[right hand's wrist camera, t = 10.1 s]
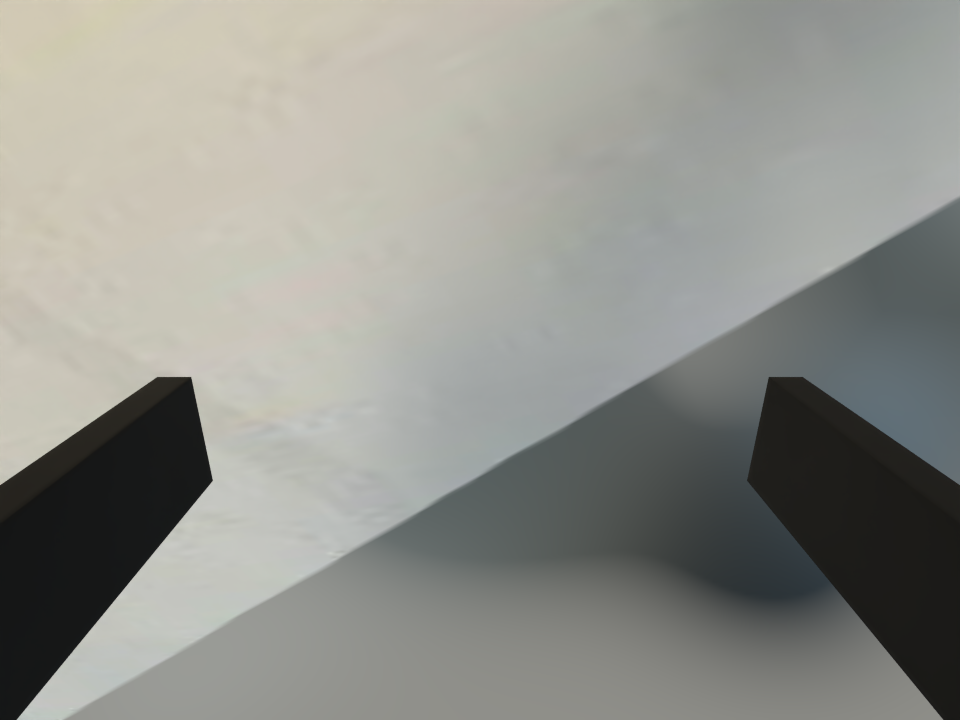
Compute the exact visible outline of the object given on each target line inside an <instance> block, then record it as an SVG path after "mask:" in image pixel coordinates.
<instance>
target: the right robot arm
mask: <svg viewBox="0 0 960 720" xmlns="http://www.w3.org/2000/svg"><path fill="white" fill-rule="evenodd" d="M212 481H213V479H212V475H211V470H210V465H209V460H208V455H207V451H206V446H205V441H204V436H203V432H202V427H201V422H200V417H199V412H198V408H197V403H196V398H195V393H194V389H193V384H192V379H191V377H157V378H155V379H154V380H153V381H151V382H150V383H148V384H147V385H145V386H144V387H142V388H141V389H139V390H138V391H137V392H135V393H134V394H132V395H131V396H129V397H128V398H126V399H125V400H123V401H122V402H121V403H119V404H118V405H116V406H115V407H113V408H112V409H110V410H109V411H107V412H106V413H105V414H103V415H102V416H100V417H99V418H97V419H96V420H94V421H93V422H91V423H90V424H89V425H87V426H86V427H84V428H83V429H81V430H80V431H78V432H77V433H75V434H74V435H73V436H71V437H70V438H68V439H67V440H65V441H64V442H62V443H61V444H59V445H58V446H57V447H55V448H54V449H52V450H51V451H49V452H48V453H46V454H45V455H43V456H42V457H41V458H39V459H38V460H36V461H35V462H33V463H32V464H30V465H29V466H27V467H26V468H25V469H23V470H22V471H20V472H19V473H17V474H16V475H14V476H13V477H11V478H10V479H9V480H7V481H6V482H4V483H3V484H1V485H0V720H17V719H18V717H19V716H20V715H21V714H22V712H23V711H24V710H25V709H26V708H27V706H28V705H29V704H30V703H31V701H32V700H33V699H34V698H35V697H36V695H37V694H38V693H39V692H40V691H41V689H42V688H43V687H44V686H45V684H46V683H47V682H48V681H49V680H50V678H51V677H52V676H53V675H54V673H55V672H56V671H57V670H58V669H59V667H60V666H61V665H62V664H63V663H64V661H65V660H66V659H67V658H68V656H69V655H70V654H71V653H72V652H73V650H74V649H75V648H76V647H77V645H78V644H79V643H80V642H81V641H82V639H83V638H84V637H85V636H86V635H87V633H88V632H89V631H90V630H91V628H92V627H93V626H94V625H95V624H96V622H97V621H98V620H99V619H100V617H101V616H102V615H103V614H104V613H105V611H106V610H107V609H108V608H109V606H110V605H111V604H112V603H113V602H114V600H115V599H116V598H117V597H118V596H119V594H120V593H121V592H122V591H123V589H124V588H125V587H126V586H127V585H128V583H129V582H130V581H131V580H132V578H133V577H134V576H135V575H136V574H137V572H138V571H139V570H140V569H141V568H142V566H143V565H144V564H145V563H146V561H147V560H148V559H149V558H150V557H151V555H152V554H153V553H154V552H155V550H156V549H157V548H158V547H159V546H160V544H161V543H162V542H163V541H164V540H165V538H166V537H167V536H168V535H169V533H170V532H171V531H172V530H173V529H174V527H175V526H176V525H177V524H178V522H179V521H180V520H181V519H182V518H183V516H184V515H185V514H186V513H187V511H188V510H189V509H190V508H191V507H192V505H193V504H194V503H195V502H196V501H197V499H198V498H199V497H200V496H201V494H202V493H203V492H204V491H205V490H206V488H207V487H208V486H209V485H210V483H211V482H212ZM747 481H748V482H749V483H750V485H751V486H752V487H753V488H754V489H755V491H756V492H757V493H758V494H759V496H760V497H761V498H762V499H763V501H764V502H765V503H766V504H767V505H768V507H769V508H770V509H771V510H772V511H773V513H774V514H775V515H776V516H777V518H778V519H779V520H780V521H781V522H782V524H783V525H784V526H785V527H786V528H787V530H788V531H789V532H790V533H791V535H792V536H793V537H794V538H795V540H796V541H797V542H798V543H799V544H800V546H801V547H802V548H803V549H804V550H805V552H806V553H807V554H808V555H809V557H810V558H811V559H812V560H813V561H814V563H815V564H816V565H817V566H818V568H819V569H820V570H821V571H822V572H823V574H824V575H825V576H826V577H827V578H828V580H829V581H830V582H831V583H832V585H833V586H834V587H835V588H836V589H837V591H838V592H839V593H840V594H841V595H842V597H843V598H844V599H845V600H846V602H847V603H848V604H849V605H850V606H851V608H852V609H853V610H854V611H855V613H856V614H857V615H858V616H859V617H860V619H861V620H862V621H863V622H864V624H865V625H866V626H867V627H868V628H869V630H870V631H871V632H872V633H873V634H874V636H875V637H876V638H877V639H878V641H879V642H880V643H881V644H882V645H883V647H884V648H885V649H886V650H887V652H888V653H889V654H890V655H891V656H892V658H893V659H894V660H895V661H896V663H897V664H898V665H899V666H900V667H901V669H902V670H903V671H904V672H905V673H906V675H907V676H908V677H909V678H910V680H911V681H912V682H913V683H914V684H915V686H916V687H917V688H918V689H919V690H920V692H921V693H922V694H923V695H924V697H925V698H926V699H927V700H928V701H929V703H930V704H931V705H932V706H933V708H934V709H935V710H936V711H937V712H938V714H939V715H940V716H941V717H942V718H943V720H960V485H959V484H957V483H956V482H954V481H953V480H951V479H950V478H948V477H947V476H946V475H944V474H943V473H941V472H940V471H938V470H937V469H935V468H934V467H932V466H931V465H930V464H928V463H927V462H925V461H924V460H922V459H921V458H919V457H918V456H917V455H915V454H914V453H912V452H911V451H909V450H908V449H906V448H905V447H903V446H902V445H901V444H899V443H898V442H896V441H895V440H893V439H892V438H890V437H889V436H887V435H886V434H884V433H883V432H882V431H880V430H879V429H877V428H876V427H874V426H873V425H871V424H870V423H869V422H867V421H866V420H864V419H863V418H861V417H860V416H858V415H857V414H855V413H854V412H853V411H851V410H850V409H848V408H847V407H845V406H844V405H842V404H841V403H839V402H838V401H837V400H835V399H834V398H832V397H831V396H829V395H828V394H826V393H825V392H823V391H822V390H821V389H819V388H818V387H816V386H815V385H813V384H812V383H810V382H809V381H807V380H806V379H805V378H803V377H769V379H768V384H767V389H766V393H765V398H764V403H763V408H762V412H761V417H760V422H759V427H758V432H757V436H756V441H755V446H754V451H753V455H752V460H751V465H750V470H749V475H748V479H747Z"/></svg>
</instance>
